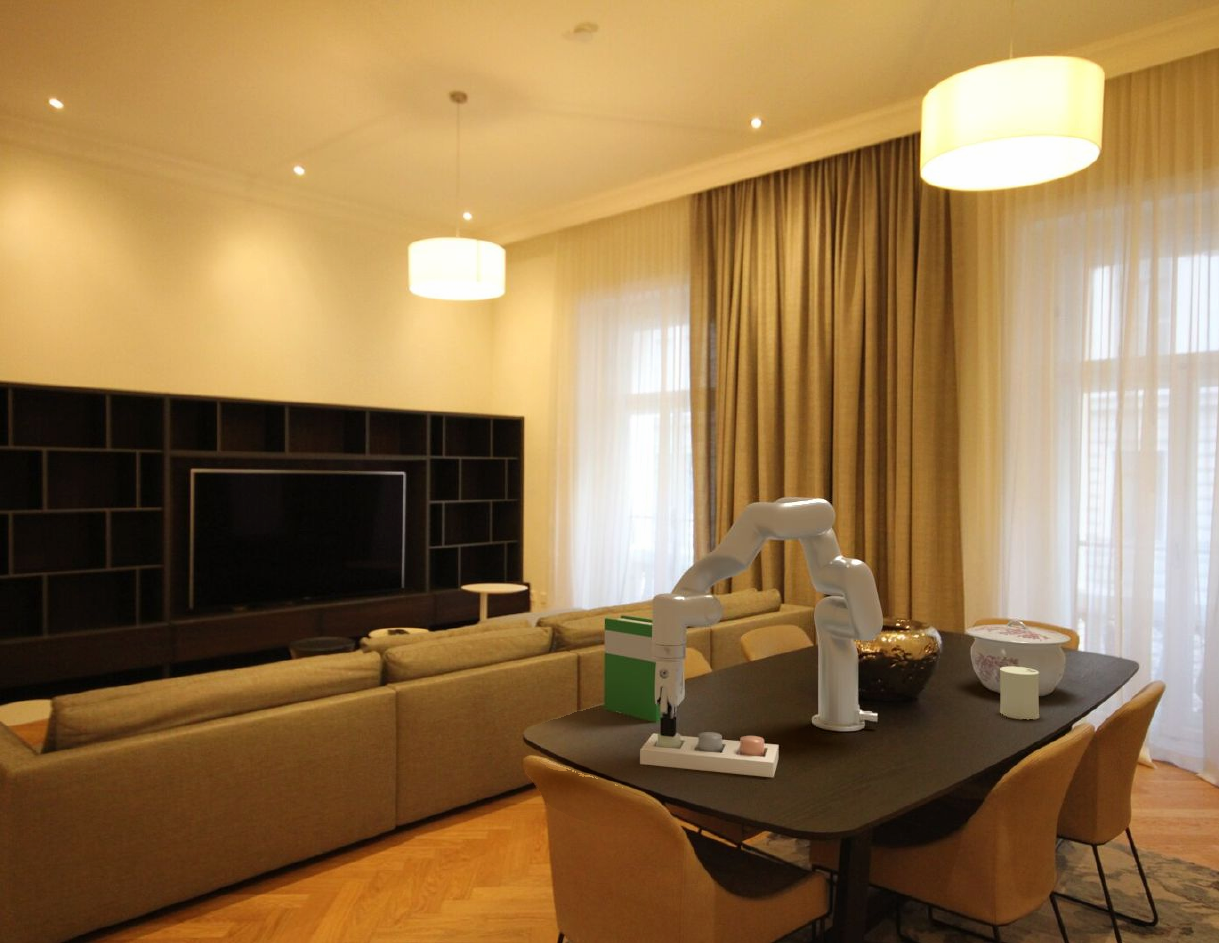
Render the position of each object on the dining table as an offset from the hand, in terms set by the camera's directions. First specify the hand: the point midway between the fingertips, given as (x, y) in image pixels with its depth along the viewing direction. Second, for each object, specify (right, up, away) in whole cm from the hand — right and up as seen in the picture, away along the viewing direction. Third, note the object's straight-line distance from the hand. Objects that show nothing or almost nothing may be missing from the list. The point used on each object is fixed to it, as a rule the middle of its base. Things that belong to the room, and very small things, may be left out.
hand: (668, 734), depth 180 cm
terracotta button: (+17, -3, -5) cm, 18 cm away
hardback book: (-5, -6, +35) cm, 36 cm away
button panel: (+9, -5, -3) cm, 10 cm away
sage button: (0, -4, 0) cm, 4 cm away
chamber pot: (+105, -6, +58) cm, 120 cm away
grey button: (+9, -3, -3) cm, 10 cm away
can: (+94, -6, +34) cm, 100 cm away
